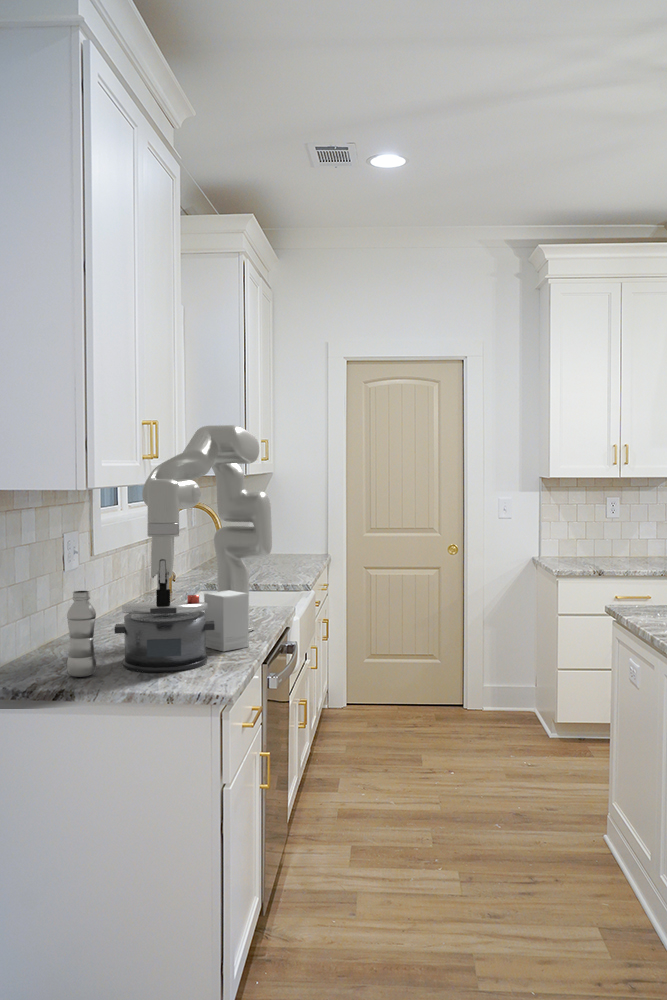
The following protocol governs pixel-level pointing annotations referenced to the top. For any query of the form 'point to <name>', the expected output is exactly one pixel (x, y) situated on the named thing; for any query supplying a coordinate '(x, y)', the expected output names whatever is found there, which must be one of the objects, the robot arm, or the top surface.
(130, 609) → the lid
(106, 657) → the top surface
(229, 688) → the top surface
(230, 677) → the top surface
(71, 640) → the plastic bottle
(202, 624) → the pressure cooker
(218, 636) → the supplement box
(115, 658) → the top surface
